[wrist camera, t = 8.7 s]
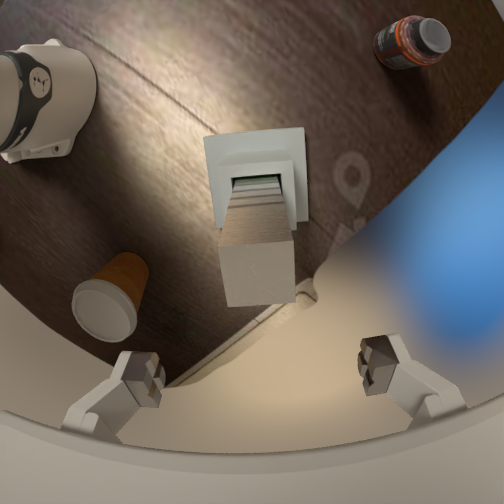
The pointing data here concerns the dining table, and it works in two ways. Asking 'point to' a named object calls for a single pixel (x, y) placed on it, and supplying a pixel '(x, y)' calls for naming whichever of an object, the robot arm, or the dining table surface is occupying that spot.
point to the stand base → (259, 167)
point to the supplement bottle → (411, 43)
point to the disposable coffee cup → (112, 298)
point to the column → (257, 245)
